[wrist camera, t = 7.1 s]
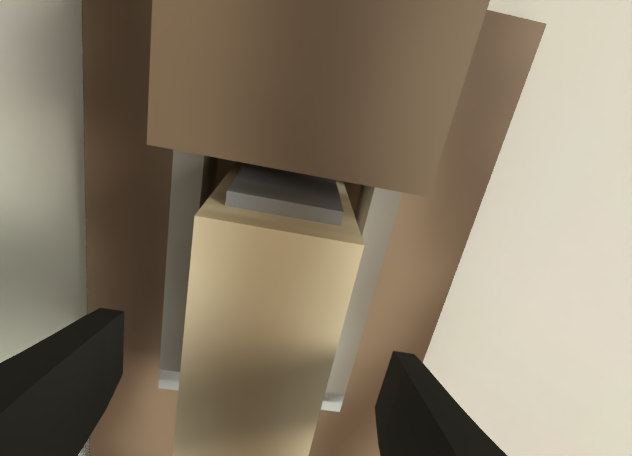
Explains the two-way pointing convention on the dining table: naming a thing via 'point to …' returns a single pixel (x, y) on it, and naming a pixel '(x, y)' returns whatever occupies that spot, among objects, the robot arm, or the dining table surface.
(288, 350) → the beige pillar with cap
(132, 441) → the post board
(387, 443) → the robot arm
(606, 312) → the dining table surface
